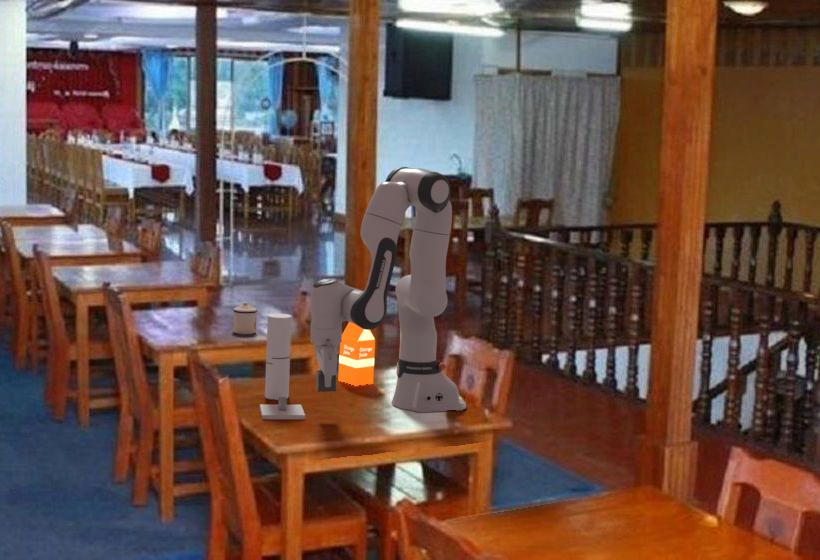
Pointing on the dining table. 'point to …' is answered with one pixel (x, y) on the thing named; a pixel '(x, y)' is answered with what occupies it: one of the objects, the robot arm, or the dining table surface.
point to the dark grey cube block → (320, 382)
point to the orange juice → (356, 356)
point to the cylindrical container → (278, 356)
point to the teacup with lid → (245, 319)
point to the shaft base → (282, 410)
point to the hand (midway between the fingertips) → (326, 383)
